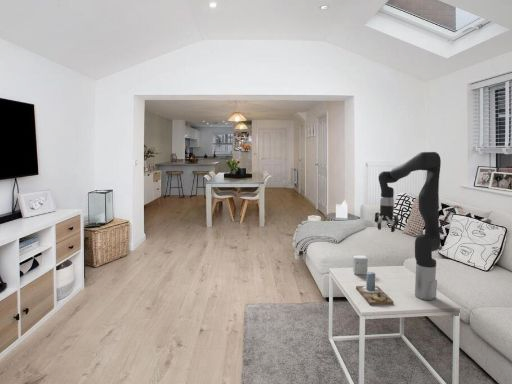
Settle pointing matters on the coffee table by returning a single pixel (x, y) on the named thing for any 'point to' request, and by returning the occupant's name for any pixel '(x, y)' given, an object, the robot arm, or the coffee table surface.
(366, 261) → the small box
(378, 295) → the gear board
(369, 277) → the blue-grey cylinder
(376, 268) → the coffee table surface
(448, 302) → the coffee table surface
